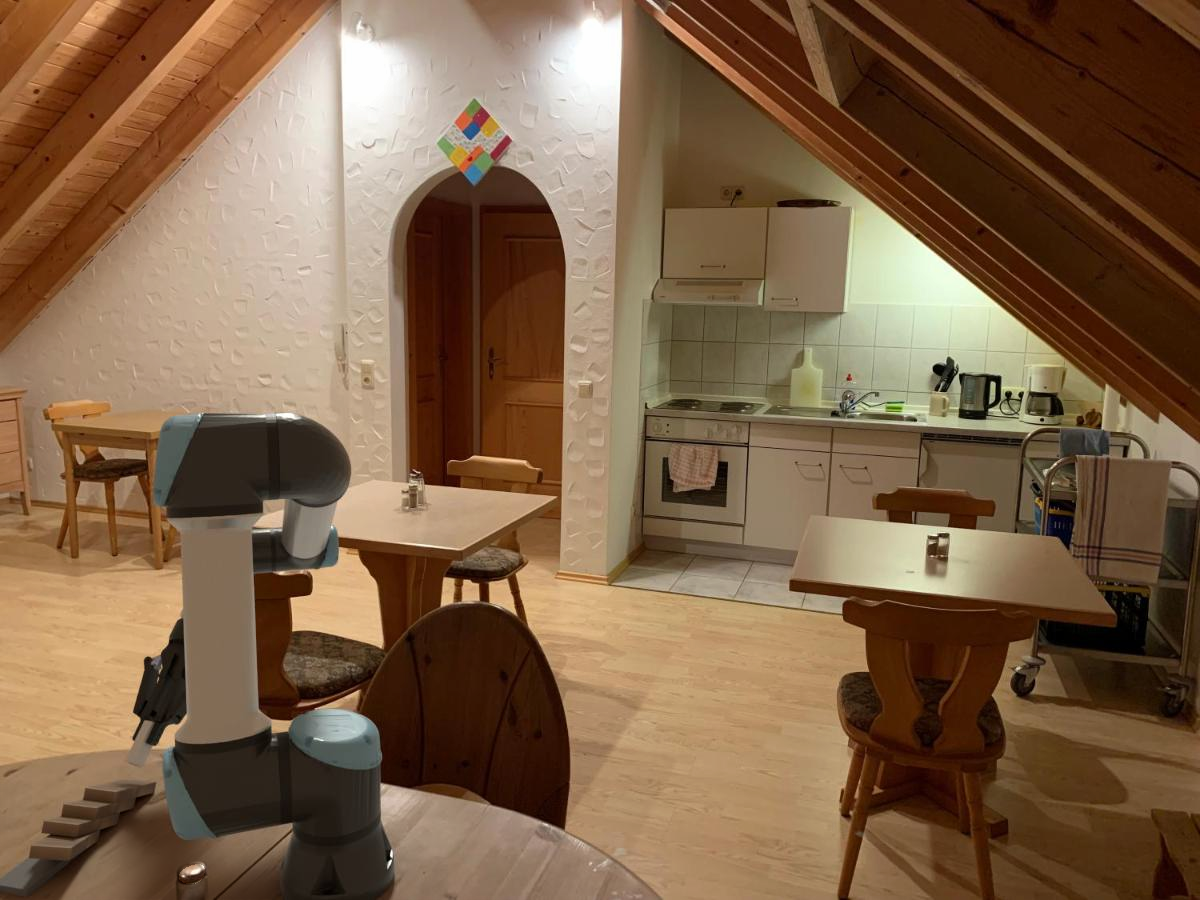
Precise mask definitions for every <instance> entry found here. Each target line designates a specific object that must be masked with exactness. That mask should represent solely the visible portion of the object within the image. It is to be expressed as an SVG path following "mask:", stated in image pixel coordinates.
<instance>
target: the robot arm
mask: <svg viewBox="0 0 1200 900" xmlns="http://www.w3.org/2000/svg"><path fill="white" fill-rule="evenodd" d="M153 472H154V473H153V482H152V483H153V484H152V485H153V489H152V490H153V493H152V501H153V505H154V506H156V507H160V508H161V509H162V508H164V507H165V510H166V511H165V513H166V521H167V522H168V523H169V524H170V525H171V526H173V527H174V528H175V529H176V530H177V531H178V532H179V535H180V554H181V556H180V558H181V559H180V561H181V586H182V587H181V588H182V610H181V611H180V614H179V616H180V618H179V619H177V620H176V622H175V625H174V626H173V628H172V630H171V632H170V633H169V636H168V643H167V645H166V646H165V647H164V648H163V649H162V651H161V652H160V654H158V655H156V656H153V657H151V656H145V657H144V659H143V669H144V670H143V675H142V678H141V680H140V684H139V688H138V691H137V695H136V699H135V702H134V705H133V710H132V713H133V714H134V715H135V716H137V717H138V718H139V724H138V725H137V728H136V729H135V730H134V733H133V735H132V741H133V743H132V745H131V747H130V749H129V751H128V754H127V756H126V757H125V760H124V762H125V763H128V764H129V765H131V766H133V767H136V768H141V769H143V768H144V766H145V763H146V761H147V758H148V757H149V755H150V753H151V751H152V748H153V747H156V746H157V745H158V744H159V742H160V740H161V738H162V735H164V734H163V733H164V731H165V730H166V728H167V727H168V726H170V725H177V726H178V725H179V724H180V723H182V721H183V719H184V718H185V717H186V720H185V722H184V723H183V724H182V725H181V726H180V727H179V728H178V729H177V730H176V731H175V733H174V746H173V745H171V746H170V747H168V748H166V749H165V750H164V751H163V753H162V772H163V778H164V779H163V783H164V785H163V786H164V792H165V798H166V803H167V804H166V805H167V809H168V814H169V818H170V822H171V825H172V827H173V830H174V832H175V833H176V835H177V836H178V838H180V839H182V840H183V841H195V840H196V841H197V840H205V839H214V840H215V839H216V840H217V839H219V838H220V837H224V836H230V835H235V834H241V833H247V832H250V831H257V830H263V829H267V828H272V827H278V826H283V825H288V824H292V833H291V836H290V838H289V839H290V840H289V842H288V845H287V849H286V851H285V855H284V858H283V861H282V863H281V865H280V871H279V883H280V885H279V887H280V893H281V895H282V898H283V899H284V900H376V899H377V898H378V897H380V896H381V895H382V894H383V893H384V892H385V891H386V890H387V889H388V888H389V886H390V885H391V883H392V881H393V880H394V879H393V878H394V876H395V875H394V874H395V856H394V851H393V849H392V848H393V847H392V845H391V842H390V839H389V838H388V834H387V832H386V830H385V828H384V825H383V823H382V822H383V821H382V802H381V801H382V800H381V799H382V796H381V795H382V794H381V793H382V791H381V788H382V787H381V762H382V761H383V754H382V751H381V740H380V732H379V729H378V728H377V726H376V724H375V723H374V722H373V721H372V720H371V719H370V718H368V717H367V716H364V715H363V714H360V713H358V712H356V711H352V710H349V709H341V708H318V709H313V710H309V711H306V712H305V713H304V714H302V713H300V714H298V715H297V716H296V717H294V718H293V720H292V721H291V723H290V725H289V727H288V730H286V731H280V732H272V730H273V729H272V723H273V722H272V719H271V718H270V717H268V716H267V715H266V714H265V713H263V712H262V711H261V710H260V709H259V689H258V687H259V686H258V684H259V683H258V664H257V663H258V662H257V661H258V660H257V659H258V657H257V655H258V654H257V639H256V638H257V637H256V634H257V633H256V629H257V628H256V609H255V605H256V604H255V583H254V574H255V575H256V574H267V573H275V572H276V573H277V572H291V571H305V570H307V571H308V570H320V569H324V568H325V569H326V568H332V567H334V566H336V565H337V564H338V562H339V557H340V556H339V555H340V548H339V547H340V546H339V545H340V544H339V533H338V529H337V527H336V526H335V525H333V521H334V516H335V512H336V509H337V505H338V502H339V500H341V499H342V498H343V497H344V496H345V494H346V492H347V491H348V488H349V485H350V481H351V477H352V464H351V459H350V456H349V454H348V451H347V449H346V448H345V446H344V444H343V443H342V442H341V441H340V439H339V438H338V437H337V436H336V435H335V434H334V433H333V432H332V431H331V430H330V429H328V428H327V427H326V426H325V425H323V424H322V423H319V422H317V421H316V420H314V419H312V418H310V417H308V416H304V415H301V414H299V413H298V414H297V413H292V412H282V411H281V412H279V411H277V412H260V413H258V412H249V413H248V412H241V413H240V412H238V413H237V412H236V413H235V412H234V413H233V412H231V413H230V412H229V413H227V412H226V413H225V412H199V413H191V414H179V415H173V416H170V417H169V418H167V419H166V420H164V422H163V423H162V425H161V428H160V430H159V436H158V441H157V446H156V454H155V462H154V471H153ZM275 500H276V501H277V500H278V501H279V500H284V506H283V515H282V516H283V517H282V518H283V519H282V526H281V527H268V528H253V527H254V526H255V525H256V523H257V522H258V521H259V520H260V519H261V518H262V517H264V502H265V501H275Z"/></svg>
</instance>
